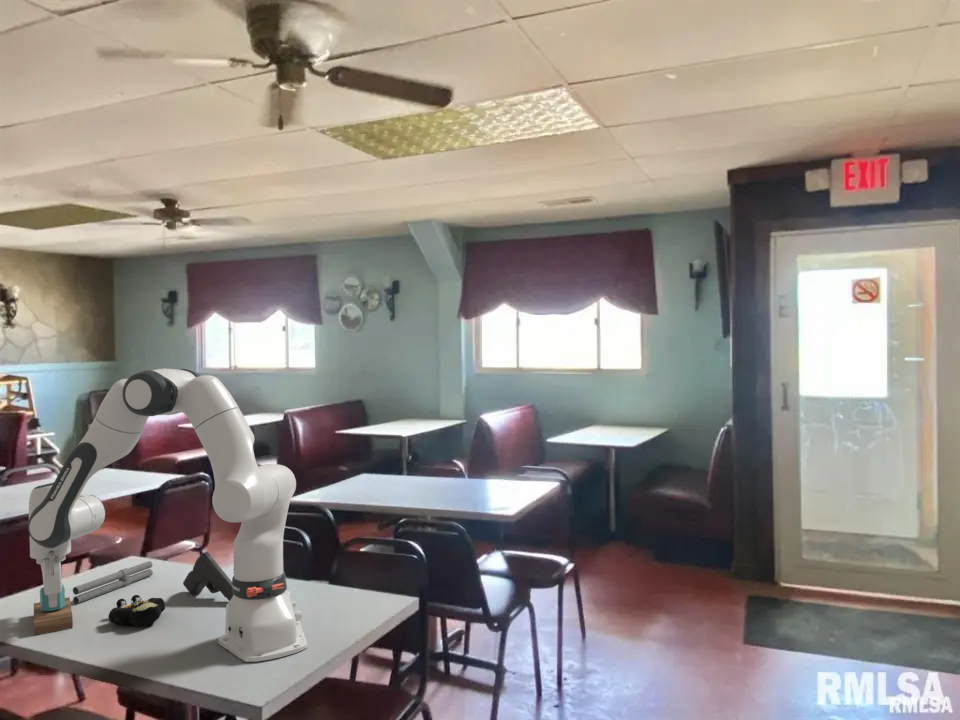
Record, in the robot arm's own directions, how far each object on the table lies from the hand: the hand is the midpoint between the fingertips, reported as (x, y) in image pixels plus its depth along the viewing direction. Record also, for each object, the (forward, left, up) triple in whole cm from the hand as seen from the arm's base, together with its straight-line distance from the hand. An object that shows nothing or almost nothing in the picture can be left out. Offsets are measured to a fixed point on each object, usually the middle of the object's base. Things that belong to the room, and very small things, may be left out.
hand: (52, 602), depth 183 cm
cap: (0, 0, -1) cm, 1 cm away
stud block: (0, 0, -5) cm, 5 cm away
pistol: (-5, -37, -5) cm, 38 cm away
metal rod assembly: (+19, -16, -5) cm, 25 cm away
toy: (-12, -18, -5) cm, 22 cm away
